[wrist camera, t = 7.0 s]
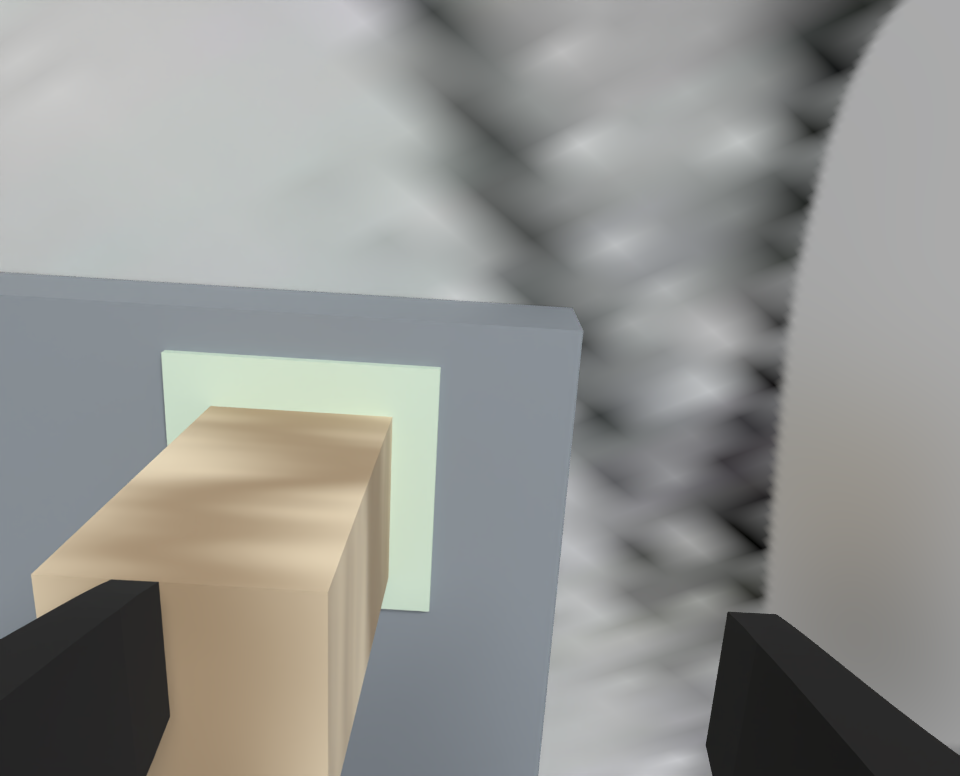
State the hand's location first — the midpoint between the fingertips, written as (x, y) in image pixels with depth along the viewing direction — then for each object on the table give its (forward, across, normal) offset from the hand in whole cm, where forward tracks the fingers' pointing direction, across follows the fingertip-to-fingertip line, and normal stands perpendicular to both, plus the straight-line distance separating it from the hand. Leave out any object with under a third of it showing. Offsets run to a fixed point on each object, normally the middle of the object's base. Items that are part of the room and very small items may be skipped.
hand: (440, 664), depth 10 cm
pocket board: (+10, +5, +5) cm, 13 cm away
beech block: (+8, +4, +2) cm, 9 cm away
